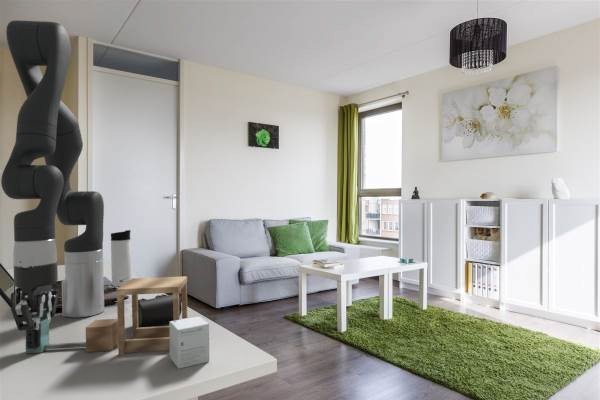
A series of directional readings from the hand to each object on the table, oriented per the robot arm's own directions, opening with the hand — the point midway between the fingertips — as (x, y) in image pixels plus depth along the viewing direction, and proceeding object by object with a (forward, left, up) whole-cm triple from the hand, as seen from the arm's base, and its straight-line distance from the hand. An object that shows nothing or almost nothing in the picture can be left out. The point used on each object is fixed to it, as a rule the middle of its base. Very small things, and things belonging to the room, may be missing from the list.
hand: (38, 344), depth 81 cm
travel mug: (-1, +56, -2) cm, 57 cm away
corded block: (+7, 0, -1) cm, 7 cm away
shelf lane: (+24, 0, -1) cm, 24 cm away
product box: (+32, -10, -2) cm, 34 cm away
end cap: (+21, +13, -2) cm, 25 cm away
